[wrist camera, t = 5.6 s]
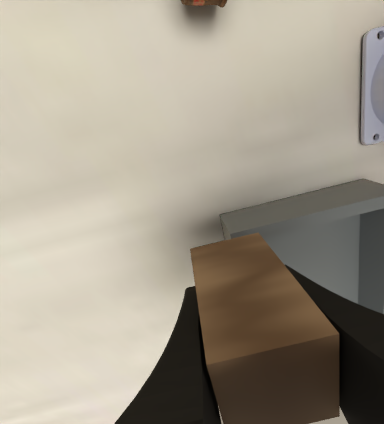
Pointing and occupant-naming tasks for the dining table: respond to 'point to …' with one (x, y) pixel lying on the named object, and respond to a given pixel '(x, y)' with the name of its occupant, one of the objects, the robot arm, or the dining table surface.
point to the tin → (204, 2)
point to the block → (263, 337)
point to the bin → (325, 237)
